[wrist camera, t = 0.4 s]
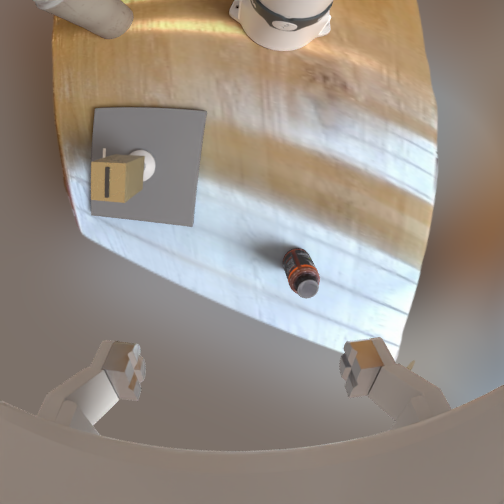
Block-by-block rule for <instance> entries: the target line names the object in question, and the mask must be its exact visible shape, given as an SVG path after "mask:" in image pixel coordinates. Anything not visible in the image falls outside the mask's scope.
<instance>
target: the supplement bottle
mask: <svg viewBox="0 0 504 504" xmlns="http://www.w3.org/2000/svg"><path fill="white" fill-rule="evenodd" d="M283 266H284V269H285V273H286V276H287V279H288V282H289V285H290V287H291V289H292V290H293V291H294V292H295V293H297V294H298V295H299V296H300V297H302V298H311V297H313V296H314V295H315V294H316V293H317V292H318V288H319V286H318V285H319V282H320V277H319V273H318V271H317V269H316V267H315V265H314V263H313V261H312V259H311V257H310V256H309V254H308V253H307V252H306V251H305V250H303V249H293V250H291V251H289V252H288V253H287V254H286V255H285V257H284V259H283Z"/></svg>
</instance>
